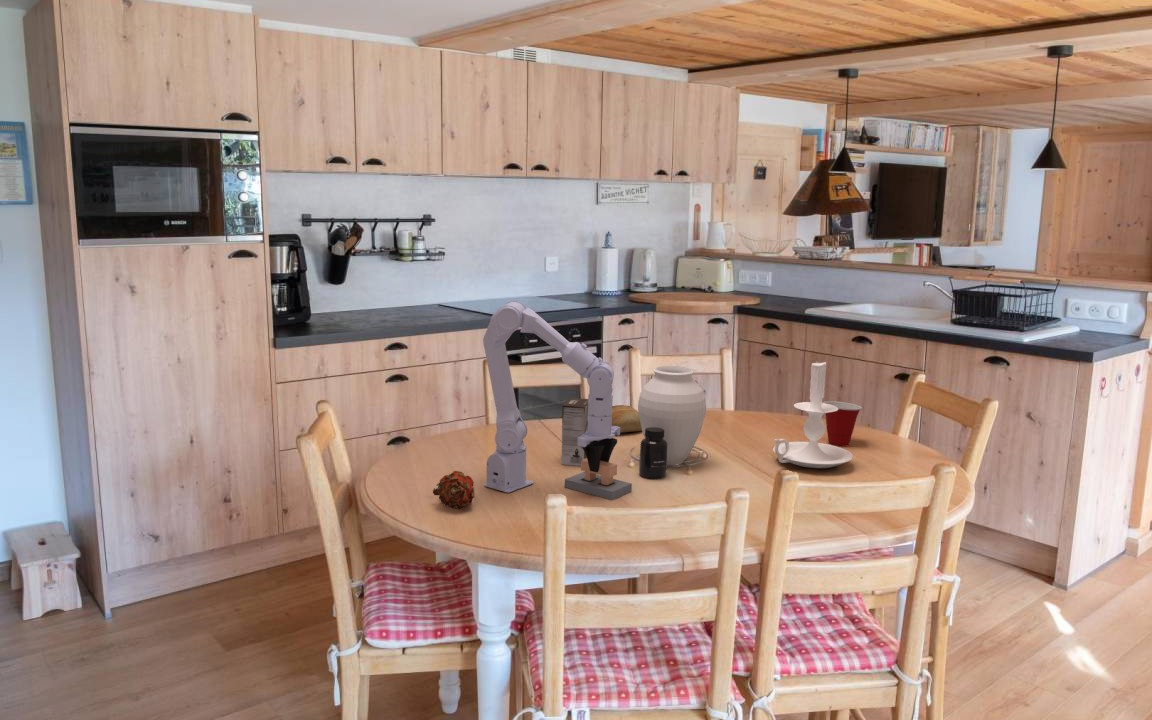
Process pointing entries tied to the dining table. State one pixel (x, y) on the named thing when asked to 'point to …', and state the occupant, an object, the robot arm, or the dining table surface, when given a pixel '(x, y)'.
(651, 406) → the vase
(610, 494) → the gray rectangular slab
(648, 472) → the supplement bottle
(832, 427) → the plastic cup
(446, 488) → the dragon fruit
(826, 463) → the candlestick
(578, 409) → the coffee box
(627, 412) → the bread roll
